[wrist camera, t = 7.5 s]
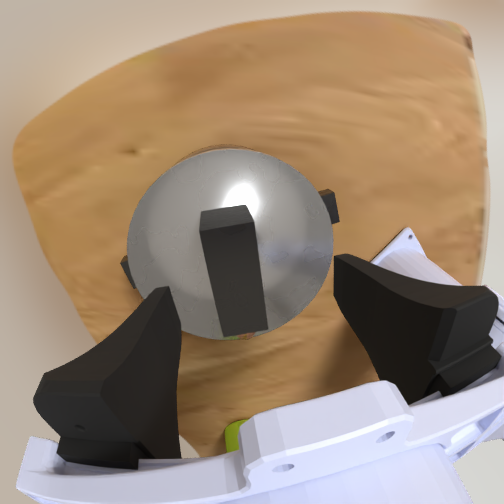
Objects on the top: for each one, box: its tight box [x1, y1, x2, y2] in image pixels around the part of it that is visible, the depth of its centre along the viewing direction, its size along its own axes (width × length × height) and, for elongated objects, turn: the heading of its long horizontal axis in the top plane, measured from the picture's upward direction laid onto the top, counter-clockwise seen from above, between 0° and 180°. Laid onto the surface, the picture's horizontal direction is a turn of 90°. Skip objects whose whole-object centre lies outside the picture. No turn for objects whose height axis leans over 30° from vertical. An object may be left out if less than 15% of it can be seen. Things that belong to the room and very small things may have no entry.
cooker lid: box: [127, 148, 333, 340], centre depth 15 cm, size 12×12×4 cm
